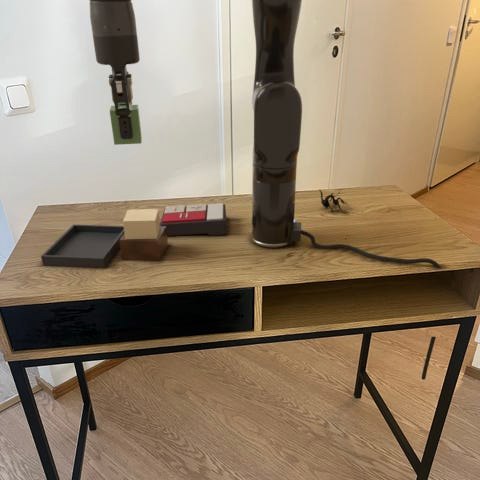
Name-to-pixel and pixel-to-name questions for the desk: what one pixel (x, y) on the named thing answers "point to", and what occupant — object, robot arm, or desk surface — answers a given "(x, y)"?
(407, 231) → the desk surface
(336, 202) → the creature
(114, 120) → the green block
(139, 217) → the cream block
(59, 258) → the tray
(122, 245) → the walnut block
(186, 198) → the desk surface
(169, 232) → the calculator
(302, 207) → the desk surface
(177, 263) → the desk surface
